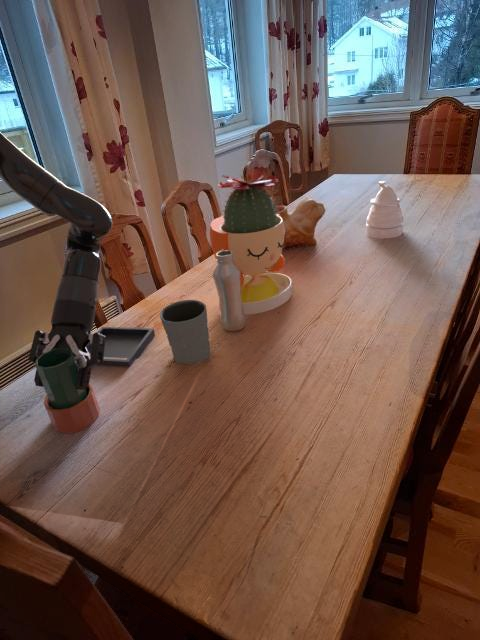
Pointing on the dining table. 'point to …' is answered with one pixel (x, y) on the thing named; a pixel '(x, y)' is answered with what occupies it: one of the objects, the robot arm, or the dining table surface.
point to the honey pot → (385, 214)
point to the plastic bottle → (229, 292)
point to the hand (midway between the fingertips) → (60, 387)
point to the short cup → (74, 414)
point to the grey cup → (187, 331)
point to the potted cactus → (253, 241)
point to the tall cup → (60, 378)
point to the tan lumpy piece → (301, 222)
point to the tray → (123, 344)
